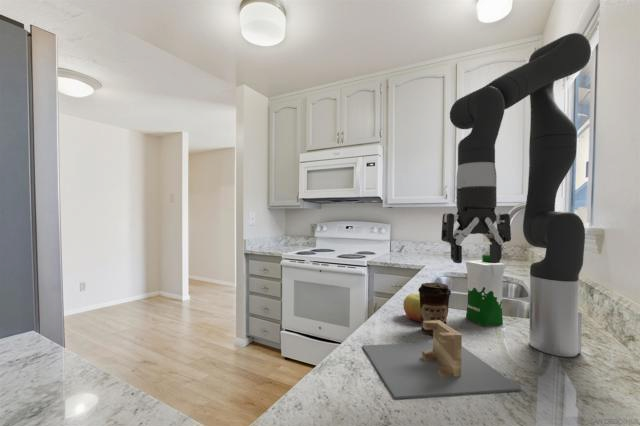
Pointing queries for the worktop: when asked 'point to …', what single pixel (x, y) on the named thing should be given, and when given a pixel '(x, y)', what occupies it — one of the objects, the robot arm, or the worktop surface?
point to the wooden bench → (444, 348)
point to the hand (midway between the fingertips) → (476, 262)
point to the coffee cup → (433, 303)
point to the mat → (432, 372)
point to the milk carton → (485, 291)
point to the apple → (413, 307)
